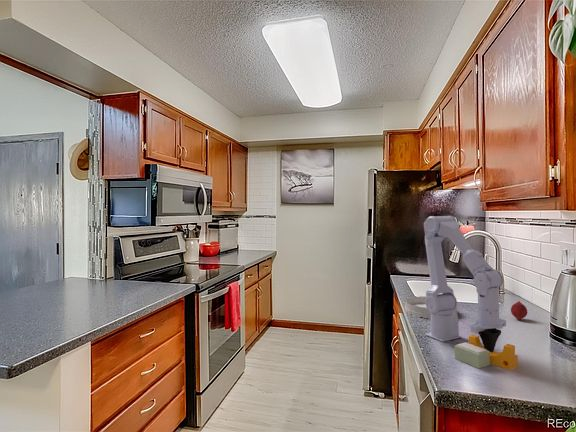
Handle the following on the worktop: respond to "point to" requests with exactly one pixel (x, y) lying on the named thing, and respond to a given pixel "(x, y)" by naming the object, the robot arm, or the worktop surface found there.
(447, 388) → the worktop surface
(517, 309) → the onion
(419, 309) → the dish
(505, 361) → the pipe clamp
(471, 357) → the pale green block
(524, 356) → the worktop surface
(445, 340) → the robot arm
